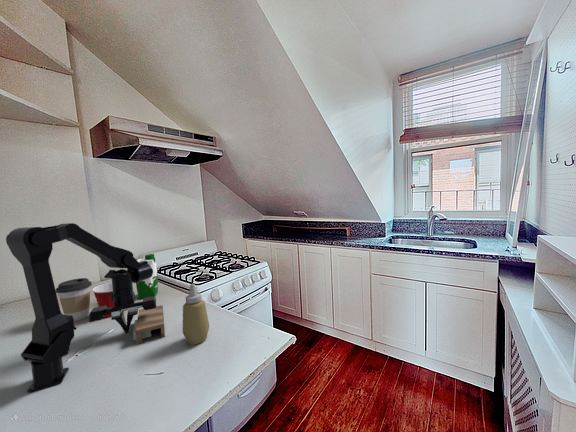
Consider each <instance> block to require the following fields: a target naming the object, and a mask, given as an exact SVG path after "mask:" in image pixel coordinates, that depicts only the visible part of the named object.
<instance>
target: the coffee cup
mask: <svg viewBox="0 0 576 432" xmlns="http://www.w3.org/2000/svg"><path fill="white" fill-rule="evenodd" d="M92 282H93V281H91V280H89V279H88V278H87V277H81V278H79V277H78V278H73V279H69V280H66V281H62V282H60V283H58V284H57V288H56V287H55V290H56V294H57V297H58V298H59V299H58V300H59V303H60V306H61V309H62V312H63V313H62V314H63V315H72V316H73V319H74V322H77V321H81V320H84V319H86V318H87V317H88V318H89V314H90V312H91V311H90V308H91V307H90V306H91V305H90V304H91V287H92V286H93V284H92Z"/></svg>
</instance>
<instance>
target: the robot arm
mask: <svg viewBox="0 0 576 432" xmlns="http://www.w3.org/2000/svg"><path fill="white" fill-rule="evenodd" d="M64 240H65V241H68V242H70V243H71V244H74V245H75V246H78V247H80V248H82V249H83V250H85V251H87V252H90V253H91V254H93V255H94V256H95V255H96V256H97V257H98V258H99V259H100V261H101V262H102V263H103V264H105V265H106V266H107V267H109V268H111V269H109V270H108V272H107V273H106V274H105V275H104V276H103V277H104V279H111V283H112V288H113V292H111V301H112V302H114V307H112V308H107V306H106V305H105V306H100V307H99V306H95V307H93V308H92V309H91V311H89V316H88V322H89V323H93V322H98V321H101V320H102V319H104V315H107V314H111V315H112V317H110V318H111V320H112V321H114V320H115V321H116V323H118V325H120V327H121V328H122V330H123V331H124V333H125V334H129V333H130V328H131V326H132V325H131V323H132V321H133V318H134V317H135V316H136V315H137V316H138V313H139V309H140V308H142V309H145V310H149V309H154V308H156V306H157V298H156V296H151V297H146V298H143V299H142V301H138V302H136V294H135V291H134V284H136V283H138V282H140V281H143V280H146V279H148V278H150V277H152V275H153V269H152V268H151V266H150V265H149V264H148V261H141V262H138V261H137V260H138V259H136V258H135V257H134V253H133V252H132V251H130V250H128V249H125V248H121V247H118V246H114V245H111V244H109V243H108V242H105V241H104V240H102V239H101V238H99V237H97V236H95V235H94V234H92V233H91V232H89V231H87V230H85V229H83V228H82V227H80V226H79V225H78V224H76V223H74V222H70V223H69V222H67V223H60V224H57V225H56V224H55V225H51V226H45V227H41V226H31V227H17V228H14V229H13V230H11V231H10V232H9V233H8V234H7V235H6V237H5V242H6V245H7V246H8V249H9V250H10V252H11V254H12V256H13V257H14V258H15V259H16V260H17V261H18V262H19V263H20V264H21V266H22V270H23V273H24V277H25V281H26V285H27V289H28V293H29V297H30V301H31V304H32V305H31V306H32V309H33V313H34V317H35V319H34V322H33V325H32V327H31V341H29V343H28V344H27V345H26V347H25V348H24V349H23V350H22V352H21V353H20V357H21V358H22V360H24V361H29V362H30V367H31V375H32V382H31V384H30V386H29V387H28V388H27V390H26V391H27V392H26V393H32V392H35V391H38V390H43V389H46V388H49V387H52V386H55V385H58V384H61V383H63V381H64V379H65V377H66V375H67V373H68V372H69V370H70V367H64V362H63V357H65V356H67V355H69V351H70V346H71V343H72V340H73V339H74V338H75V331H76V330H77V327H76V326H75V321H74V319H73V316H72V315H64V313H62V311H61V308H60V302H59V299H58V298H59V297H58V293H56V286H55V282H54V278H53V274H52V270H51V266H50V265H51V264H50V258H51V255H52V251H53V249H54V247H53V244H55V243H59V242H62V241H64ZM116 269H118V270H116ZM133 283H134V284H133ZM126 311H127V315H126V317H125V312H126Z"/></svg>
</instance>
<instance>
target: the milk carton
mask: <svg viewBox="0 0 576 432" xmlns="http://www.w3.org/2000/svg"><path fill="white" fill-rule="evenodd" d="M136 260H137V261H138V262H141V261H148V264H149V265H150V266H151V268H152V269H153V275H152V277H150V278H148V279H146V280H143V281H140V282H138V283H135V286H136V287H135V288H136V292H137V297H138V300H143V298H146V297H151V296H155V297H156V296H157V294H158V293H159V280H158V279H159V278H158V270H157V267H158V266H157V257H156V256H155V254H154V253H148V254H144V257H143V258H138V259H136Z"/></svg>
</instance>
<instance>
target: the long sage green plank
mask: <svg viewBox="0 0 576 432" xmlns="http://www.w3.org/2000/svg"><path fill="white" fill-rule="evenodd" d="M133 323H134V324H133V329H132V331H133V332H132V338H133V341H134V342H135V341H136V342H137V340H136V325H137V319H134V322H133ZM149 337H152V330H150V331H146V332H142V339H146V338H149Z"/></svg>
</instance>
